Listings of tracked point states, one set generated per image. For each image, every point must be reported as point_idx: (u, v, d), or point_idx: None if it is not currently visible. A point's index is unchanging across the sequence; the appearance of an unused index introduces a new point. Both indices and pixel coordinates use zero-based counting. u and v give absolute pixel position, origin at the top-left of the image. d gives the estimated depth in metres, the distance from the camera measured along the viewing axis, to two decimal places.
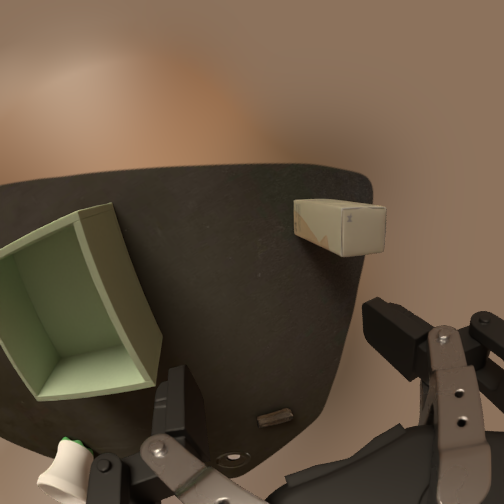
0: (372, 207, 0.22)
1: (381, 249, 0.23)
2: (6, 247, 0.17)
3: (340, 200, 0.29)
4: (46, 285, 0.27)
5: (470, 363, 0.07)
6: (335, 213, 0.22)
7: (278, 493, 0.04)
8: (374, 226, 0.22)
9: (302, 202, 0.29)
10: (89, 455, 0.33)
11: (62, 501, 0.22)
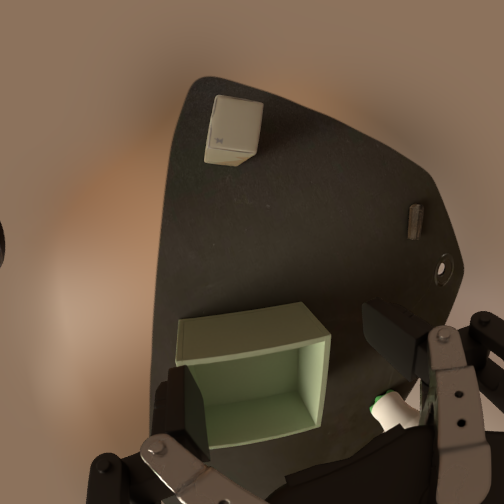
0: (213, 112, 0.20)
1: (260, 106, 0.21)
2: None
3: None
4: (234, 385, 0.39)
5: (470, 363, 0.07)
6: (213, 150, 0.22)
7: (278, 493, 0.04)
8: (232, 113, 0.21)
9: (205, 160, 0.29)
10: (391, 394, 0.47)
11: None
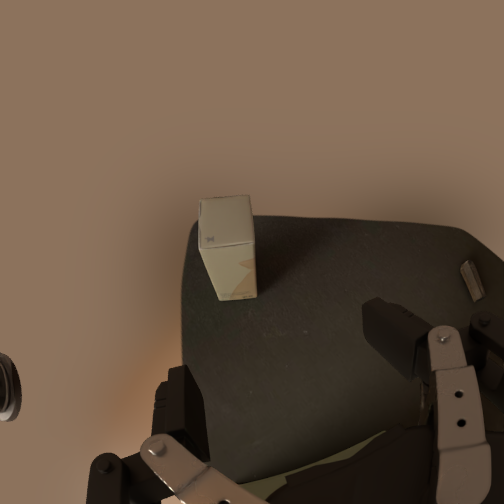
0: (199, 214, 0.21)
1: (246, 197, 0.22)
2: None
3: None
4: None
5: (470, 363, 0.07)
6: (208, 255, 0.21)
7: (278, 493, 0.04)
8: (219, 210, 0.21)
9: (217, 292, 0.27)
10: None
11: None
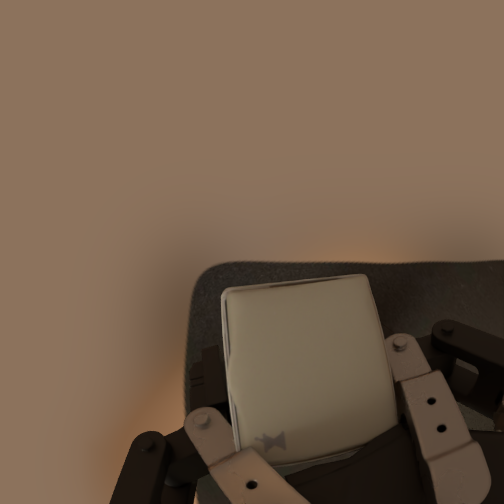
0: (226, 349, 0.07)
1: (361, 285, 0.07)
2: None
3: None
4: None
5: None
6: None
7: None
8: (291, 335, 0.06)
9: None
10: None
11: None
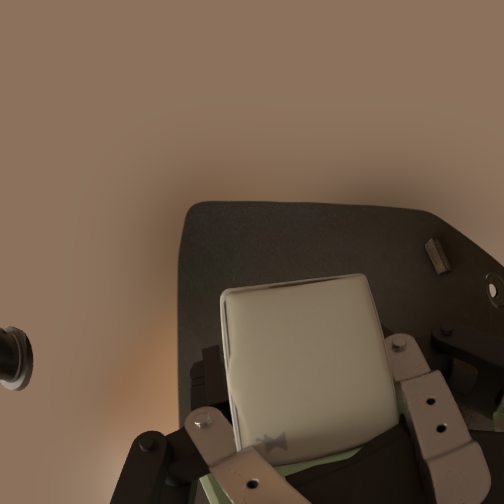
0: (226, 350, 0.07)
1: (361, 284, 0.07)
2: None
3: None
4: None
5: None
6: None
7: None
8: (290, 336, 0.06)
9: None
10: None
11: None
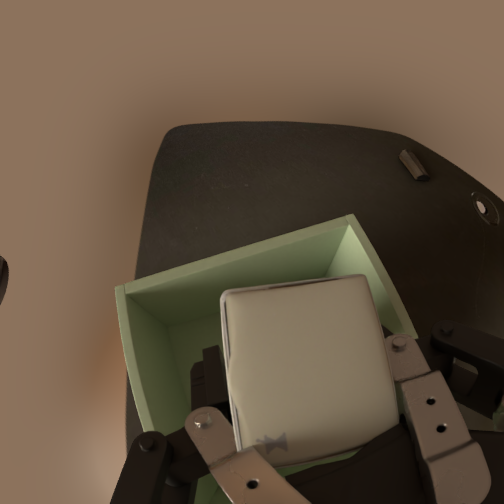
0: (226, 351, 0.06)
1: (361, 285, 0.07)
2: (143, 424, 0.12)
3: None
4: None
5: None
6: None
7: None
8: (290, 337, 0.06)
9: None
10: None
11: None
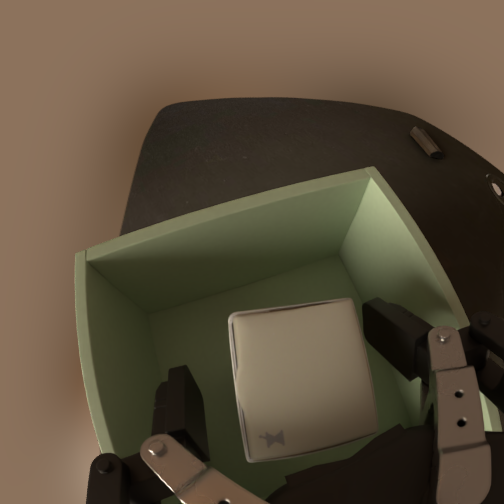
0: (234, 364, 0.08)
1: (347, 307, 0.08)
2: (98, 435, 0.08)
3: None
4: None
5: (470, 363, 0.07)
6: None
7: (278, 493, 0.04)
8: (287, 352, 0.08)
9: None
10: None
11: None
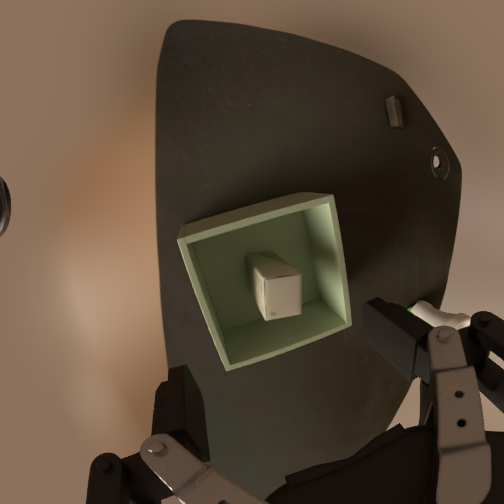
0: (264, 293, 0.28)
1: (299, 277, 0.28)
2: (205, 317, 0.30)
3: (248, 262, 0.35)
4: (250, 296, 0.40)
5: (470, 363, 0.07)
6: None
7: (278, 493, 0.04)
8: (279, 290, 0.28)
9: (251, 293, 0.37)
10: (422, 303, 0.47)
11: None
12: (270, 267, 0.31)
